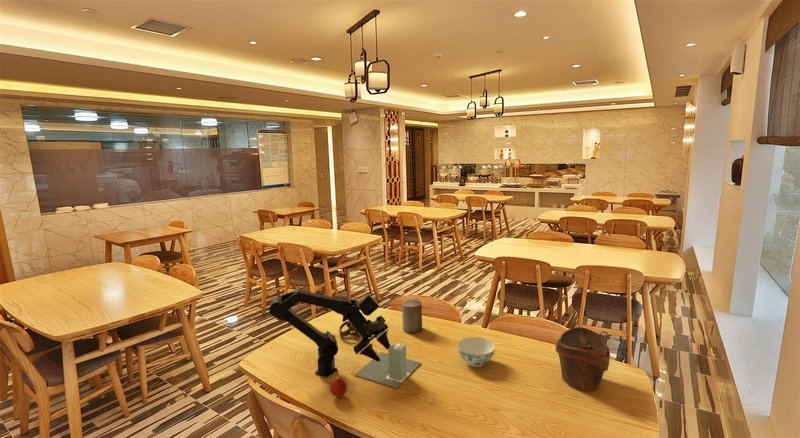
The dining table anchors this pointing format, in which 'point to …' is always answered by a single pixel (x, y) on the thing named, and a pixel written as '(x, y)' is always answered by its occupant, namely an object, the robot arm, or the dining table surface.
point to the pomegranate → (338, 387)
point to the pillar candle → (412, 316)
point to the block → (397, 361)
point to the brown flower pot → (582, 358)
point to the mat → (385, 371)
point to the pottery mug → (347, 332)
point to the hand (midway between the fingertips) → (385, 355)
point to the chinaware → (476, 350)
